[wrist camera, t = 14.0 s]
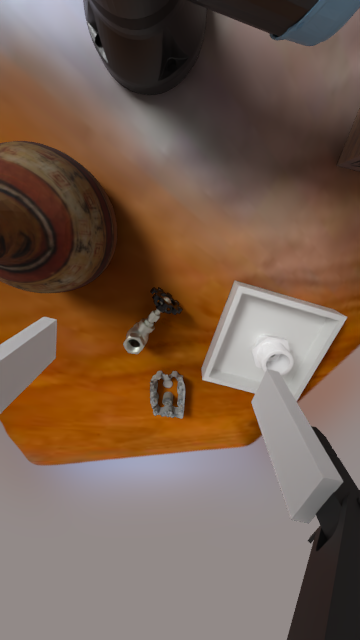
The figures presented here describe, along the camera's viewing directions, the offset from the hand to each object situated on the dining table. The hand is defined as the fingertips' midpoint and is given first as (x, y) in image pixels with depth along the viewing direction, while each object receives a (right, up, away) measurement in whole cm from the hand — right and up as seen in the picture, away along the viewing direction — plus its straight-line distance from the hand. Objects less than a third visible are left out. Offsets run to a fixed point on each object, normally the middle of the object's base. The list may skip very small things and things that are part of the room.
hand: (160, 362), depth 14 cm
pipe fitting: (+18, -2, +32) cm, 37 cm away
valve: (-4, +3, +32) cm, 32 cm away
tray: (+18, -2, +32) cm, 37 cm away
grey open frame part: (-1, -13, +38) cm, 41 cm away
